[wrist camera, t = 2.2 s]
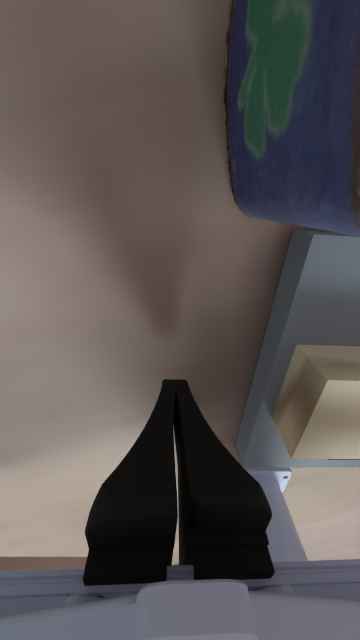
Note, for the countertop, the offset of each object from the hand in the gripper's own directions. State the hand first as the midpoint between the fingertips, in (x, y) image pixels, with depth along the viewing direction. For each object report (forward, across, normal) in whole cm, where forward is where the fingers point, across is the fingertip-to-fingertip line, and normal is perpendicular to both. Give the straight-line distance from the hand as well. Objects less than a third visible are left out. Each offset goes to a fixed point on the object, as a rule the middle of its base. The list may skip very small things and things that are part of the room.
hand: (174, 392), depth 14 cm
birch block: (+1, -10, 0) cm, 10 cm away
